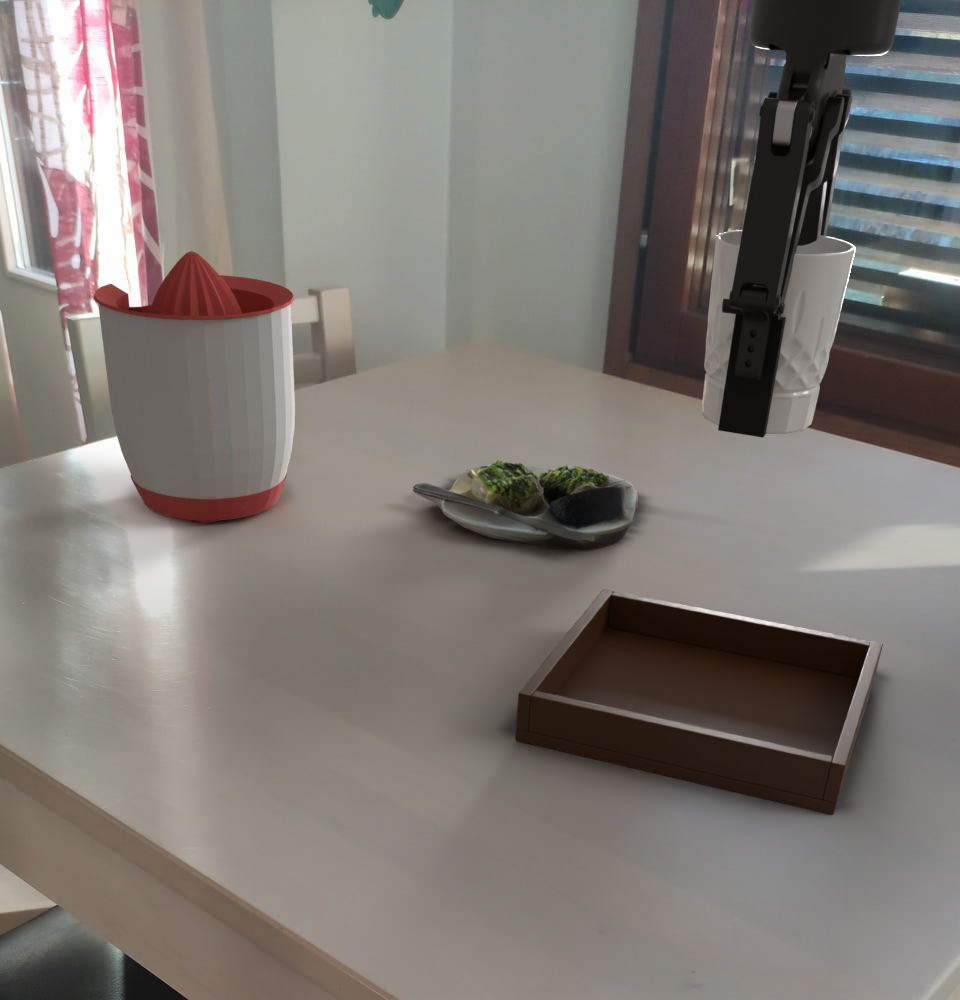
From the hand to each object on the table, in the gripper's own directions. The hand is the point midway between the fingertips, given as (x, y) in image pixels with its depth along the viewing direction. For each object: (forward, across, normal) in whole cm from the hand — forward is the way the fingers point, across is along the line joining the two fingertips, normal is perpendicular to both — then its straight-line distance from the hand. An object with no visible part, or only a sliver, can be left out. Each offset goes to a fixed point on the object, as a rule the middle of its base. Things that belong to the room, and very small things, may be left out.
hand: (756, 414), depth 78 cm
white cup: (0, 0, 0) cm, 0 cm away
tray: (+17, +7, +1) cm, 19 cm away
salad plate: (+17, -22, -20) cm, 35 cm away
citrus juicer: (+18, -12, -48) cm, 53 cm away
